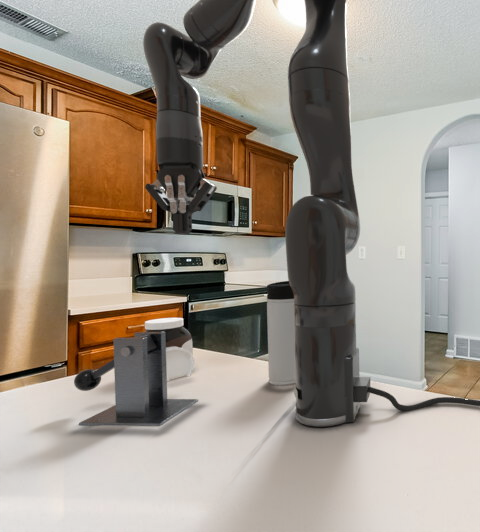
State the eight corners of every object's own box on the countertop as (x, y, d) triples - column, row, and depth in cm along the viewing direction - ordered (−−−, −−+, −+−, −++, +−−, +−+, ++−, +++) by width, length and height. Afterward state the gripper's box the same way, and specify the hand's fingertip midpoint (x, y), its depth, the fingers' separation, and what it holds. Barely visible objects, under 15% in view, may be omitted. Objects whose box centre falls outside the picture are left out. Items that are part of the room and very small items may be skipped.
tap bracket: (78, 431, 53) (75, 342, 52) (128, 406, 62) (125, 329, 61) (160, 432, 52) (157, 341, 52) (198, 406, 61) (196, 329, 61)
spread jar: (167, 368, 83) (166, 316, 83) (214, 369, 82) (212, 316, 81) (120, 386, 71) (118, 326, 71) (173, 389, 70) (172, 327, 69)
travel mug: (311, 382, 72) (309, 279, 72) (284, 393, 67) (281, 281, 66) (289, 377, 75) (287, 278, 75) (261, 387, 70) (259, 281, 69)
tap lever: (75, 398, 56) (64, 379, 56) (93, 390, 59) (83, 373, 59) (146, 354, 55) (134, 335, 55) (161, 348, 58) (150, 331, 58)
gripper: (130, 136, 66) (133, 233, 67) (202, 133, 66) (205, 232, 66) (159, 148, 74) (162, 235, 74) (224, 146, 73) (227, 234, 74)
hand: (182, 234), depth 70 cm, fingers closed
